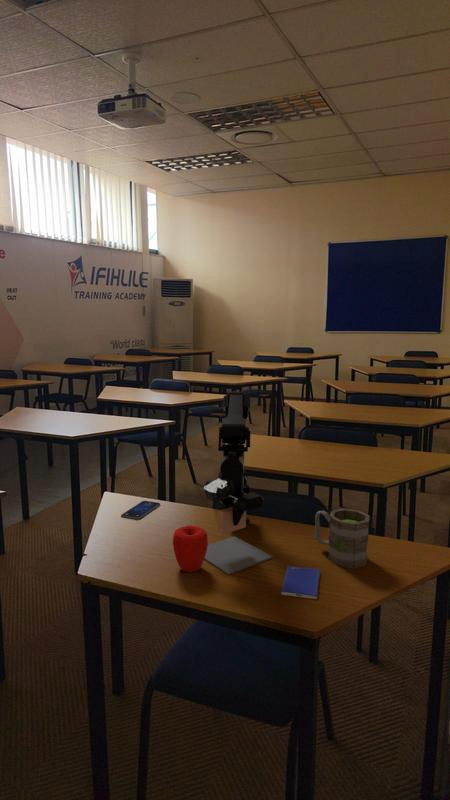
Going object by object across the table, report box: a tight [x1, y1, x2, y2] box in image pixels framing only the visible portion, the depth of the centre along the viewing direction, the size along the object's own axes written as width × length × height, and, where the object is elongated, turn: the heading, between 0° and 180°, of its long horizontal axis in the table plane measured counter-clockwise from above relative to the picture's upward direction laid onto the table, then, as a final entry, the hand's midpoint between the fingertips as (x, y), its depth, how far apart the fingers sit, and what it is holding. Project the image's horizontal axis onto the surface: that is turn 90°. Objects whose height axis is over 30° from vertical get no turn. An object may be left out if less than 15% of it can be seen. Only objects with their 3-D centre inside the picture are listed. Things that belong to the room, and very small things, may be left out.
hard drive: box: [280, 565, 321, 600], centre depth 122 cm, size 2×8×12 cm
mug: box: [314, 508, 371, 569], centre depth 136 cm, size 16×11×12 cm
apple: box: [172, 525, 209, 573], centre depth 129 cm, size 9×9×11 cm
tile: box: [217, 507, 247, 535], centre depth 137 cm, size 8×2×6 cm, turn 128°
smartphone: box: [120, 500, 161, 521], centre depth 168 cm, size 7×1×15 cm
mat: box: [204, 535, 273, 575], centre depth 137 cm, size 15×16×1 cm
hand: (232, 523), depth 137 cm, fingers closed on tile, 2 cm apart
